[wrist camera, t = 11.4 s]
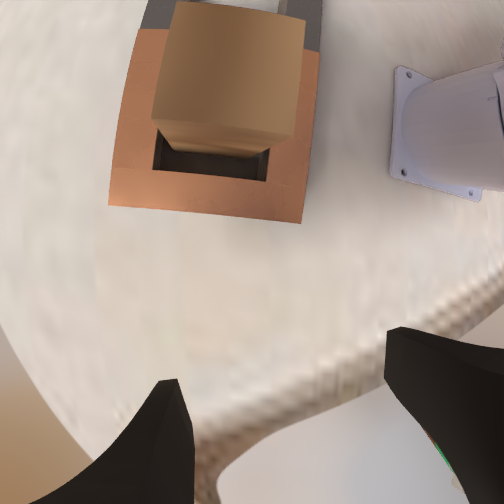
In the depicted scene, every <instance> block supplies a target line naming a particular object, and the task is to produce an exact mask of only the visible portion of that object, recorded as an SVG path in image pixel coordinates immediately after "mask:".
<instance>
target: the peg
mask: <svg viewBox="0 0 504 504" xmlns="http://www.w3.org/2000/svg"><path fill="white" fill-rule="evenodd" d="M305 25H306V21H305V20H302V19H298V18H293V17H289V16H285V15H280V14H275V13H271V12H265V11H260V10H254V9H249V8H242V7H235V6H228V5H220V4H211V3H200V2H186V1H177V3H176V6H175V10H174V14H173V17H172V21H171V25H170V29H169V33H168V37H167V41H166V45H165V49H164V53H163V58H162V62H161V67H160V72H159V76H158V81H157V86H156V92H155V97H154V102H153V108H152V114H151V119H152V121H153V122H154V123H155V125H156V126H157V128H158V129H159V130H160V132H161V133H162V135H163V136H164V137H165V139H166V140H167V142H168V143H169V144H170V146H171V147H172V148H173V150H174V151H175V152H185V153H195V154H205V155H214V156H223V157H231V158H239V159H246V160H247V159H249V158H251V157H253V156H254V155H256V154H258V153H260V152H262V151H264V150H266V149H268V148H270V147H272V146H274V145H276V144H278V143H280V142H282V141H284V140H286V139H288V138H290V137H292V136H294V128H295V120H296V111H297V102H298V93H299V84H300V75H301V65H302V55H303V45H304V35H305Z"/></svg>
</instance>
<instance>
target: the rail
mask: <svg viewBox="0 0 504 504" xmlns="http://www.w3.org/2000/svg"><path fill="white" fill-rule="evenodd" d="M177 1H186V2H191V0H148V3H147V6H146V10H145V13H144V16H143V19H142V23H141V26H140V29H139V30H138V33H137V37H136V41H135V44H134V48H133V52H132V56H131V60H130V65H129V69H128V73H127V78H126V82H125V87H124V92H123V97H122V103H121V108H120V114H119V119H118V126H117V132H116V139H115V146H114V153H113V161H112V170H111V179H110V189H109V201H108V205H112V206H125V207H138V208H150V209H162V210H173V211H184V212H195V213H206V214H216V215H226V216H235V217H245V218H254V219H263V220H272V221H281V222H289V223H298V224H301V220H302V213H303V206H304V198H305V191H306V183H307V175H308V167H309V158H310V150H311V141H312V132H313V123H314V113H315V103H316V93H317V82H318V71H319V59H320V53H319V43H320V30H321V15H322V0H280V1H279V9H278V14H280V15H285V16H289V17H293V18H298V19H302V20H305V21H306V25H305V35H304V45H303V55H302V65H301V75H300V84H299V93H298V102H297V111H296V120H295V128H294V136H292V137H290V138H288V139H286V140H284V141H282V142H280V143H278V144H276V145H274V146H272V147H270V148H268V149H266V150H264V151H262V152H260V156H259V164H258V172H257V180H256V181H255V180H247V179H239V178H231V177H222V176H213V175H203V174H193V173H182V172H171V171H159V169H160V161H161V153H162V146H163V139H164V136H163V135H162V133H161V132H160V130H159V129H158V128H157V126H156V125H155V123H154V122H153V121H152V119H151V114H152V108H153V102H154V97H155V92H156V86H157V81H158V76H159V72H160V67H161V62H162V58H163V53H164V49H165V45H166V41H167V37H168V33H169V29H170V25H171V21H172V17H173V14H174V10H175V6H176V3H177Z"/></svg>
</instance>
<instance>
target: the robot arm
mask: <svg viewBox="0 0 504 504" xmlns="http://www.w3.org/2000/svg"><path fill="white" fill-rule="evenodd" d="M500 53H501V55H502V57H503V59H504V40H503V46H502V47H501V49H500ZM406 73H407V74H408V75H409V78H408V77H407V75H406ZM402 169H403V171H404V175H403V176H402V174H401V170H402ZM389 173H390V175H391V176H392V177H393V178H395V179H399V180H403V181H406V182H410V183H414V184H418V185H421V186H425V187H429V188H432V189H436V190H439V191H443V192H446V193H449V194H453V195H456V196H459V197H462V198H466V199H469V200H472V201H475V202H479V201H480V200H481V198H482V190H490V191H500V192H504V60H503V61H499V62H495V63H492V64H488V65H485V66H481V67H478V68H474V69H471V70H468V71H464V72H461V73H458V74H455V75H452V76H449V77H445V78H442V79H439V80H436V81H434V80H432V79H430V78H428V77H426V76H423V75H421V74H419V73H417V72H415V71H413V70H410V69H408V68H406V67H403V66H399V67H397V68H396V69H395V90H394V115H393V131H392V144H391V156H390V166H389ZM469 191H470V194H469ZM384 379H385V380H386V382H387V384H388V385H389V387H390V389H391V390H392V392H393V393H394V394H395V396H396V398H397V399H398V400H399V401H400V402H401V404H402V405H403V406H404V407H405V408H406V409H407V410H408V412H409V413H410V414H411V415H412V416H413V417H414V418H415V419H416V421H417V422H418V423H419V424H420V425H421V426H422V427H423V428H424V430H425V431H426V432H427V433H428V434H429V435H430V436H431V438H432V439H433V440H434V441H435V443H436V444H437V446H438V447H439V449H440V450H441V452H442V453H443V455H444V456H445V458H446V459H447V461H448V463H449V464H450V466H451V468H452V470H453V471H454V473H455V475H456V476H457V478H458V480H459V482H460V484H461V486H462V488H463V490H464V492H465V494H466V496H467V499H468V501H469V503H470V504H504V349H501V348H492V347H485V346H479V345H474V344H469V343H464V342H460V341H456V340H452V339H448V338H445V337H441V336H437V335H434V334H430V333H426V332H423V331H419V330H415V329H411V328H406V327H398V328H395V329H392V330H389V331H387V340H386V356H385V369H384ZM194 470H195V446H194V436H193V427H192V422H191V419H190V416H189V413H188V411H187V408H186V405H185V402H184V399H183V395H182V392H181V389H180V386H179V383H178V380H177V379H170V380H162V381H158V383H157V384H156V386H155V387H154V388H153V390H152V391H151V393H150V394H149V396H148V397H147V399H146V400H145V402H144V403H143V405H142V406H141V408H140V409H139V410H138V412H137V413H136V415H135V416H134V417H133V419H132V420H131V422H130V423H129V424H128V425H127V427H126V428H125V429H124V430H123V432H122V433H121V434H120V435H119V437H118V438H117V439H116V440H115V441H114V442H113V443H112V445H111V446H110V447H109V448H108V449H107V450H106V451H105V452H104V453H103V454H102V455H101V456H99V457H98V458H97V459H96V460H95V461H94V462H93V463H92V464H91V465H89V466H88V467H87V468H86V469H84V470H83V471H82V472H81V473H79V474H78V475H77V476H75V477H74V478H73V479H72V480H70V481H69V482H67V483H66V484H64V485H63V486H61V487H60V488H58V489H56V490H55V491H53V492H51V493H50V494H48V495H46V496H44V497H42V498H40V499H38V500H36V501H34V502H32V503H29V504H194Z"/></svg>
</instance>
